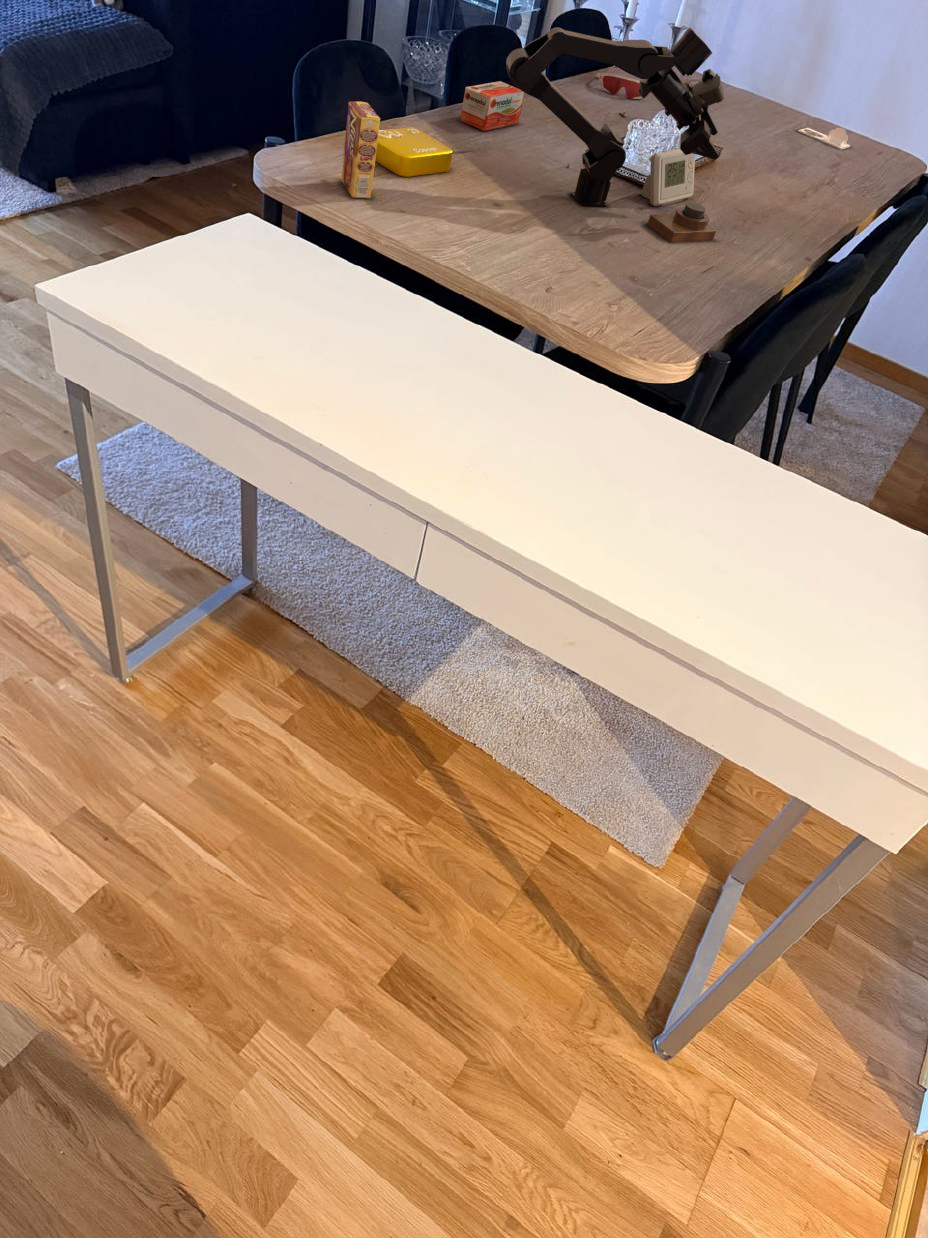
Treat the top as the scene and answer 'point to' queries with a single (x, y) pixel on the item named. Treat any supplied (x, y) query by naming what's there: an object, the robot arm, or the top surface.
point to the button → (694, 210)
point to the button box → (682, 227)
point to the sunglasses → (619, 84)
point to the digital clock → (670, 177)
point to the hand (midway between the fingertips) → (716, 145)
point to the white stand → (829, 137)
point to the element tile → (411, 152)
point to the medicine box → (492, 105)
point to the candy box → (360, 149)
